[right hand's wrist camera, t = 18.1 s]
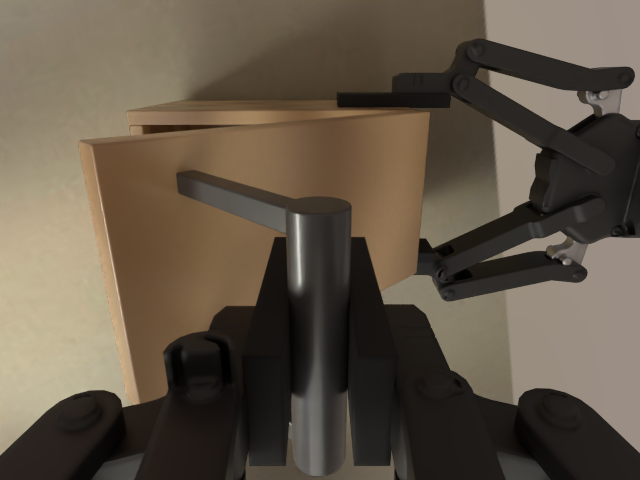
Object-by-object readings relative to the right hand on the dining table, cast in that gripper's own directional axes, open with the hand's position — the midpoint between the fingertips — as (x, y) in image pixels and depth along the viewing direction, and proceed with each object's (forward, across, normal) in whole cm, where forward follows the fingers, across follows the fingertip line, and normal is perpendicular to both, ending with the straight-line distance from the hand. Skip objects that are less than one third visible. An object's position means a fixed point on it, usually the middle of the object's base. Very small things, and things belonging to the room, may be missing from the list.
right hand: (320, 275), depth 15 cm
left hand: (+15, -1, 0) cm, 15 cm away
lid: (+5, +1, 0) cm, 5 cm away
